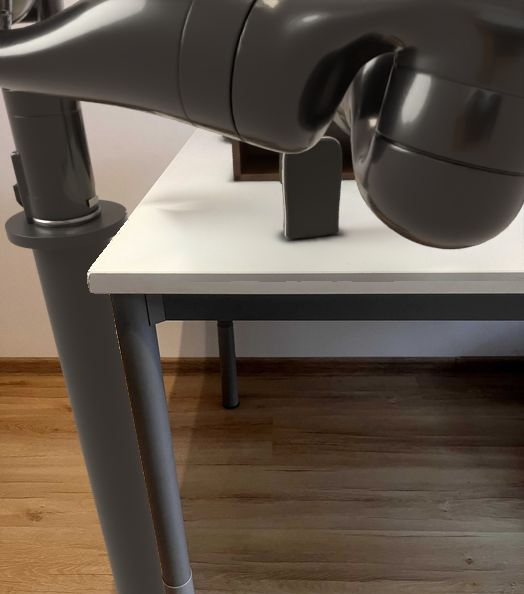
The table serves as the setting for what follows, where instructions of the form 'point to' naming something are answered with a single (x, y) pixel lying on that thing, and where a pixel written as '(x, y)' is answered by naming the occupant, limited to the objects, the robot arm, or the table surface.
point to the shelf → (265, 163)
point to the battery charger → (312, 189)
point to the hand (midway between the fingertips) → (334, 58)
